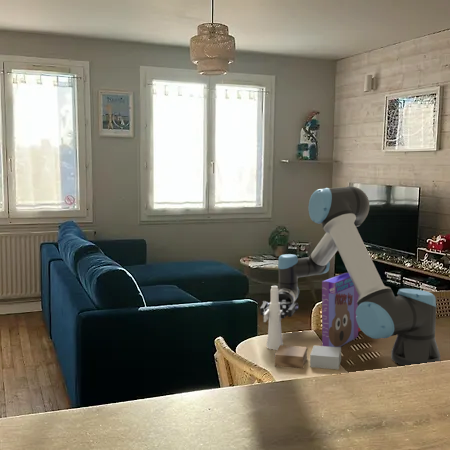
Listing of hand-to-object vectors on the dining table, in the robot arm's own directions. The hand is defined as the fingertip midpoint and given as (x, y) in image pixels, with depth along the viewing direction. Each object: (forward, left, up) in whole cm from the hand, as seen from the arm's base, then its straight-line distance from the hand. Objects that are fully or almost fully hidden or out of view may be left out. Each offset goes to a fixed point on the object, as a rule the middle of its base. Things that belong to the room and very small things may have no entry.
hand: (271, 318), depth 193 cm
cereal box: (-22, -15, -12) cm, 29 cm away
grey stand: (-19, +6, -12) cm, 23 cm away
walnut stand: (-8, +8, -12) cm, 16 cm away
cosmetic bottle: (0, -5, -12) cm, 13 cm away
